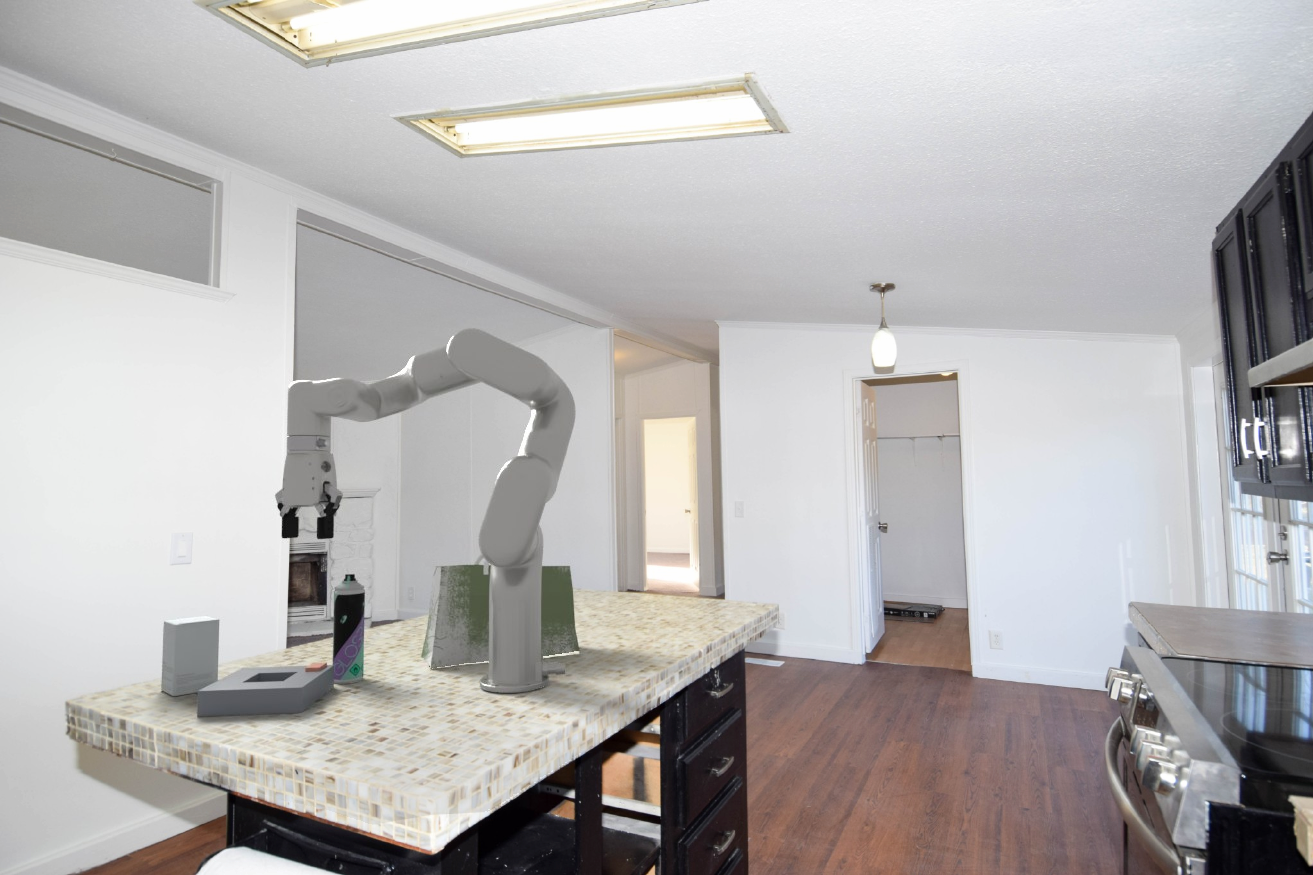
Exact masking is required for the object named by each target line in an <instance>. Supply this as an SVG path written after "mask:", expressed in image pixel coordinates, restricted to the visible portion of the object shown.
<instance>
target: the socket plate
mask: <svg viewBox="0 0 1313 875" xmlns="http://www.w3.org/2000/svg"><path fill="white" fill-rule="evenodd" d="M334 686H335V683H334V665H333V664H329V665H328V663H327V661H326V662H325V661H324V662H312V663H311V664H309V665H294V666H293V665H289V666H288V665H287V666H260V667H257V666H256V667H253V666H252V667H242V668H239V669H237V670H236V671H234V672H232V673H230V674H227V675H226V676H224V677H223V678H221V679H218V681H216V682H214V683H212V684H211V685H209V686H207V687H205V688H203V689H201V690H199V691H198V692H197V708H196V710H197V712H196V716H197V717H220V716H221V717H222V716H223V717H224V716H243V715H244V716H246V715H271V714H275V715H276V714H279V715H280V714H300V713H303V712H304V711H306V709H308V708H309V707H311V706H312V705H313V704H314V703H315V702H317V701H318V700H319V699H320V698H322V697H323V696H325V694H327V693H328V692H330V691H331V690H332V689H333V688H335V687H334Z"/></svg>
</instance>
